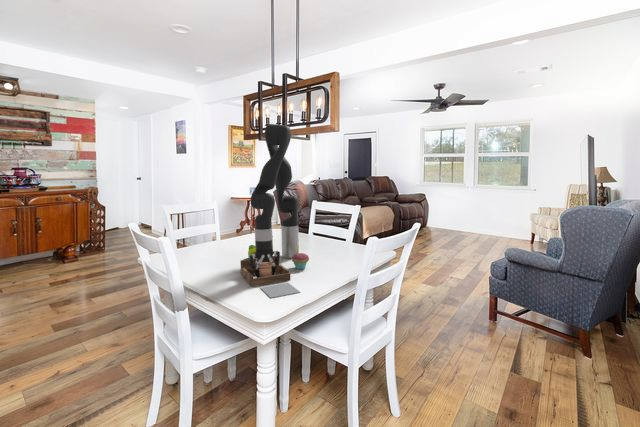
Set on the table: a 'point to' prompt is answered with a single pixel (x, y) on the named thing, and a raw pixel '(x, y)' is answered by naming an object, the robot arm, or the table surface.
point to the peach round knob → (265, 269)
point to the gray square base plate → (280, 290)
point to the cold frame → (247, 272)
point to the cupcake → (300, 259)
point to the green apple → (251, 251)
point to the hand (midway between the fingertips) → (265, 275)
